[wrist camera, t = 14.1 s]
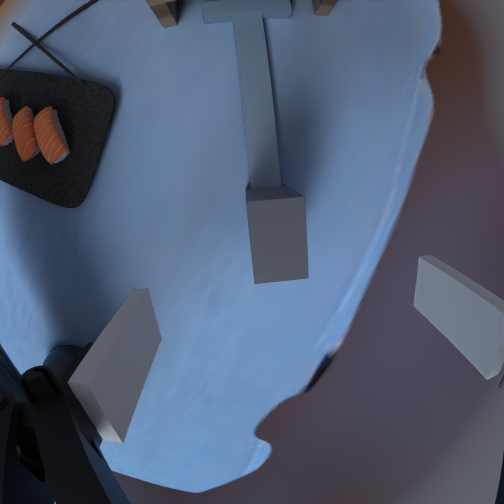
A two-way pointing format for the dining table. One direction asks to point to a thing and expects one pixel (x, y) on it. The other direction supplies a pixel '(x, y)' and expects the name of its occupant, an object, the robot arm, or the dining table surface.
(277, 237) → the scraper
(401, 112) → the dining table surface
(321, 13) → the cabinet
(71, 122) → the sushi plate
